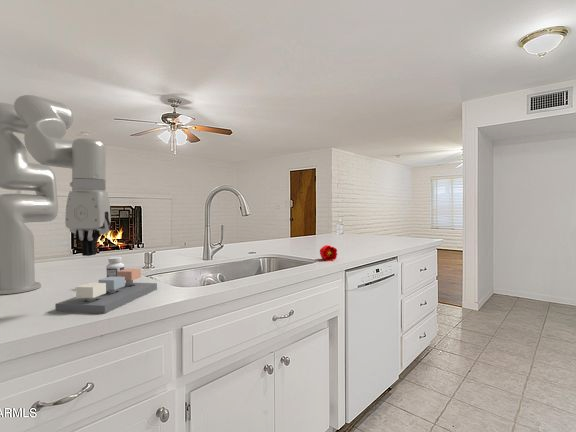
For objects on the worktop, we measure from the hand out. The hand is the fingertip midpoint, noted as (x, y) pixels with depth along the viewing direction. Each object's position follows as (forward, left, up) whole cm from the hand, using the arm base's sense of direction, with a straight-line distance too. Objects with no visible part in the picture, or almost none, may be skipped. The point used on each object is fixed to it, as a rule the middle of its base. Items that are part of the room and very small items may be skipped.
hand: (89, 254), depth 84 cm
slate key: (+1, +8, -13) cm, 15 cm away
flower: (+63, +85, -14) cm, 107 cm away
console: (+1, +8, -14) cm, 16 cm away
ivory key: (+1, 0, -13) cm, 13 cm away
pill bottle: (-9, +23, -14) cm, 29 cm away
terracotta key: (+1, +16, -12) cm, 20 cm away
